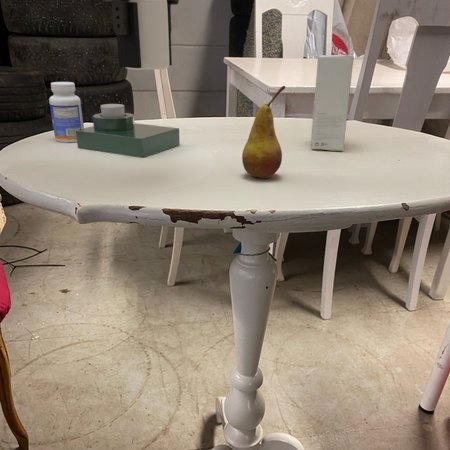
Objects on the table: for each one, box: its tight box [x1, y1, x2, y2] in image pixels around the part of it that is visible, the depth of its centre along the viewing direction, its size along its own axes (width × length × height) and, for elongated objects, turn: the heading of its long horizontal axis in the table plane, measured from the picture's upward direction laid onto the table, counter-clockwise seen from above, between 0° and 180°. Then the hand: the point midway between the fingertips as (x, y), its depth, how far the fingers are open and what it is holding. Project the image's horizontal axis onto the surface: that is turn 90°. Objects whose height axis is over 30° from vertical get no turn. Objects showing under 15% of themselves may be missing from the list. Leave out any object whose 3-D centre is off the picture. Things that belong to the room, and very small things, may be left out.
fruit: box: [241, 85, 286, 179], centre depth 64 cm, size 6×6×12 cm
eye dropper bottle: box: [124, 0, 170, 71], centre depth 55 cm, size 4×6×12 cm
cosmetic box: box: [310, 54, 355, 152], centre depth 82 cm, size 8×6×15 cm
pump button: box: [100, 103, 126, 118], centre depth 81 cm, size 4×4×2 cm
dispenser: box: [76, 112, 181, 158], centre depth 81 cm, size 14×11×5 cm
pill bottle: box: [48, 81, 85, 144], centre depth 85 cm, size 5×5×10 cm
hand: (146, 65), depth 58 cm, fingers closed on eye dropper bottle, 6 cm apart
